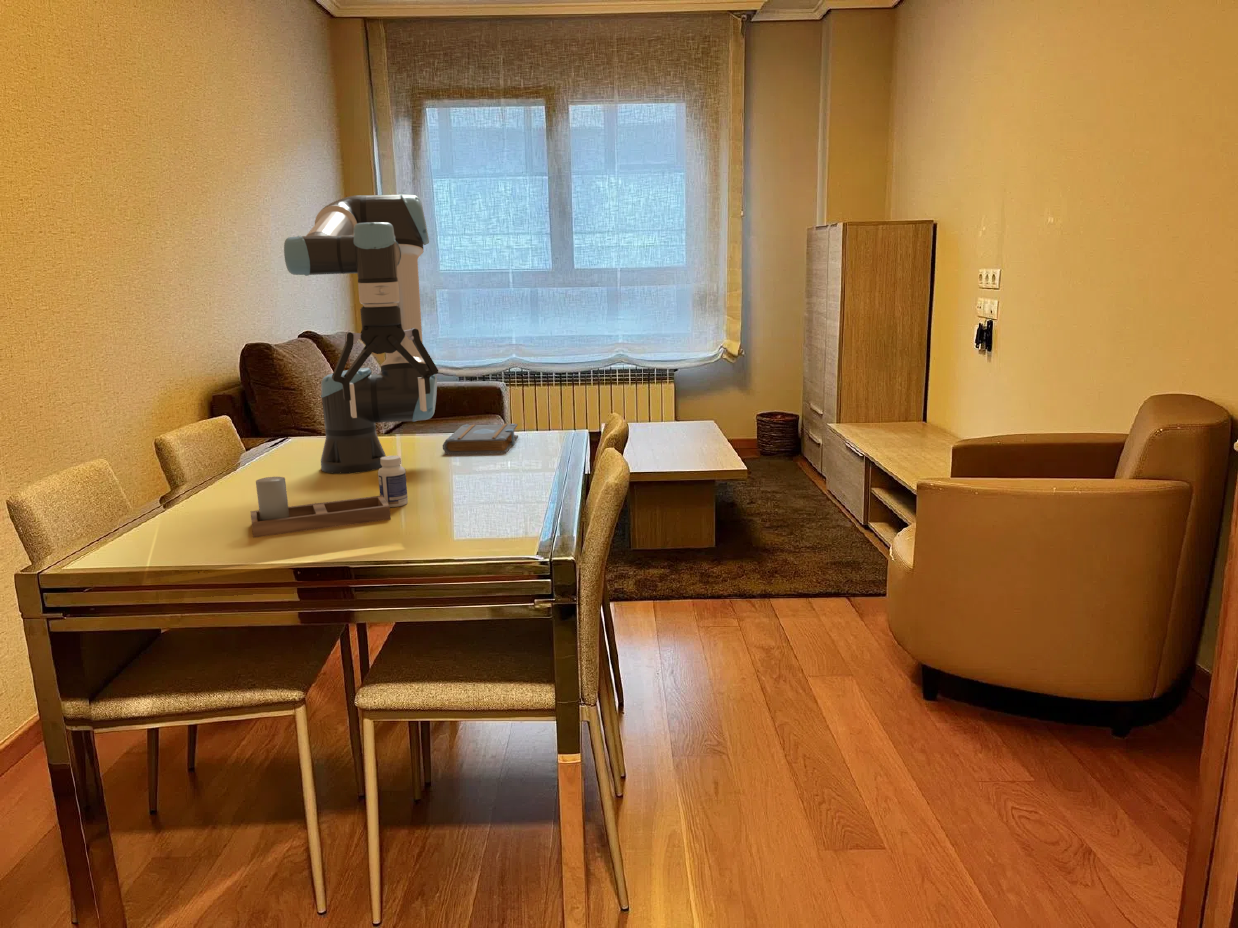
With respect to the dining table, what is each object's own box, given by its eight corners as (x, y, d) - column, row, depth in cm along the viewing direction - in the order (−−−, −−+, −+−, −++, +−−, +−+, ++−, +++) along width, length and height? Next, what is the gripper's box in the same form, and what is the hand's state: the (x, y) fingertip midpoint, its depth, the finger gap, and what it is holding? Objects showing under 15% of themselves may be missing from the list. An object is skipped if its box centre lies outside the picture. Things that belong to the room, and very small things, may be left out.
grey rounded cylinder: (260, 525, 169) (255, 478, 167) (289, 522, 171) (284, 475, 169) (261, 532, 165) (256, 484, 163) (291, 529, 167) (285, 481, 165)
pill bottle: (413, 501, 187) (409, 455, 185) (398, 508, 182) (394, 460, 180) (390, 500, 189) (386, 454, 187) (375, 506, 184) (371, 459, 182)
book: (460, 439, 253) (459, 422, 252) (519, 438, 252) (518, 420, 251) (443, 456, 233) (441, 436, 231) (507, 455, 232) (506, 435, 231)
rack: (252, 529, 171) (250, 511, 170) (383, 512, 180) (382, 495, 179) (253, 542, 163) (251, 523, 162) (391, 524, 172) (389, 506, 171)
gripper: (314, 309, 169) (325, 422, 174) (448, 302, 178) (455, 410, 183) (310, 307, 175) (321, 416, 180) (439, 301, 185) (447, 405, 190)
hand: (389, 413), depth 182 cm, fingers open, 13 cm apart
